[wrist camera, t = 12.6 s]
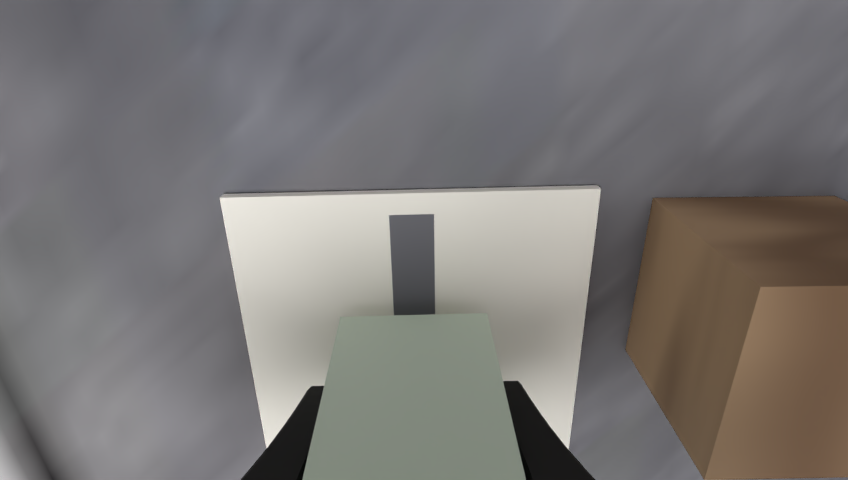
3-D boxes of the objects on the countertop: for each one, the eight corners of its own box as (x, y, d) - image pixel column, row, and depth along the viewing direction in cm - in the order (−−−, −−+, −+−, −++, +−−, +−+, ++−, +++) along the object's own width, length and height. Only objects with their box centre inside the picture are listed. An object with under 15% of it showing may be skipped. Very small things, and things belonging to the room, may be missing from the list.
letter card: (596, 184, 14) (601, 188, 14) (563, 461, 18) (566, 468, 18) (223, 193, 14) (219, 197, 14) (274, 469, 18) (271, 476, 18)
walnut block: (832, 194, 15) (1022, 283, 10) (782, 345, 17) (921, 475, 12) (652, 197, 15) (760, 286, 10) (624, 347, 17) (704, 480, 12)
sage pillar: (487, 312, 14) (531, 502, 9) (483, 425, 16) (518, 643, 11) (340, 316, 14) (295, 509, 9) (351, 428, 16) (319, 649, 11)
